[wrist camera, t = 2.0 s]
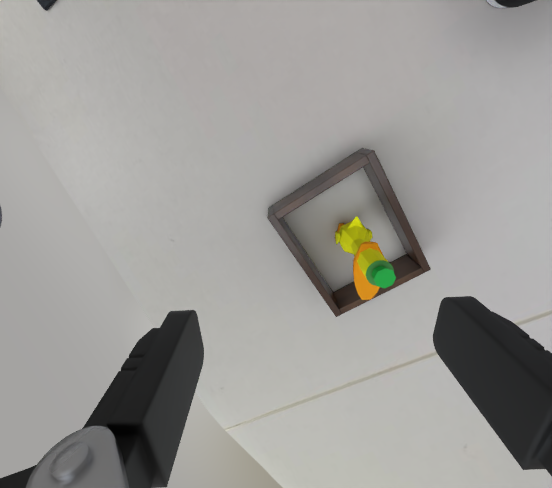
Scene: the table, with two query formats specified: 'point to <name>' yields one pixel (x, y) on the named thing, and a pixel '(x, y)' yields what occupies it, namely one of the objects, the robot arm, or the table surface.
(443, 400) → the table surface
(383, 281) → the toy figure
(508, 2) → the dixie cup
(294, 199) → the tray box
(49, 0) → the rubber pad
